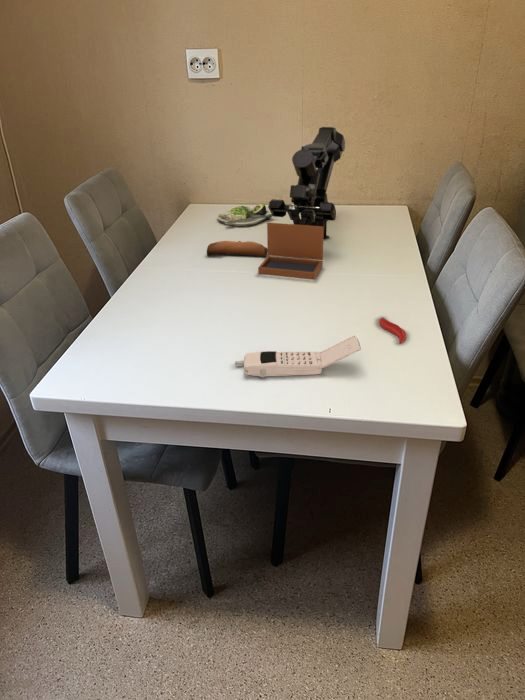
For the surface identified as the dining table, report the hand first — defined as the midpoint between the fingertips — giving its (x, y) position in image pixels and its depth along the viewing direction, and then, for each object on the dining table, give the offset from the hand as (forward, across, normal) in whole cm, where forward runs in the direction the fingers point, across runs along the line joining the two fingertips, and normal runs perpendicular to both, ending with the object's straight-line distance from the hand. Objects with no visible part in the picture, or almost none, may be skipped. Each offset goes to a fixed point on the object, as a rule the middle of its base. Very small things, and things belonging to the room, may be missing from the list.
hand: (296, 237), depth 157 cm
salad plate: (-19, -28, +31) cm, 46 cm away
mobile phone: (+44, +15, -32) cm, 56 cm away
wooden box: (+10, 0, +1) cm, 10 cm away
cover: (+2, 0, -1) cm, 2 cm away
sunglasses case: (+3, -19, +8) cm, 21 cm away
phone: (+10, 0, +1) cm, 10 cm away
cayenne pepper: (+29, +31, -17) cm, 46 cm away
